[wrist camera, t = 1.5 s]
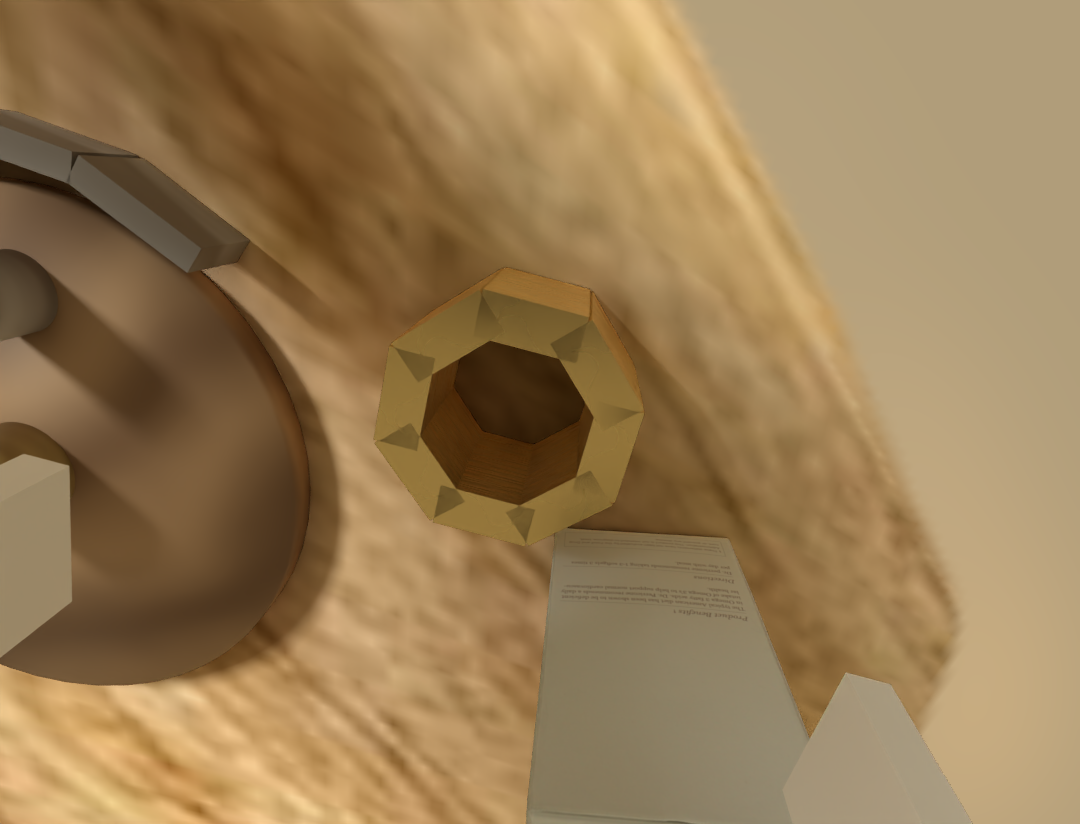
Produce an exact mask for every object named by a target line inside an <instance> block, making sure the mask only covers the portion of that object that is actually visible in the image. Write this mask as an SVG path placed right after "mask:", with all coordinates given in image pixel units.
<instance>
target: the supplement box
mask: <svg viewBox="0 0 1080 824" xmlns="http://www.w3.org/2000/svg"><path fill="white" fill-rule="evenodd" d="M809 739H810V738H809V736H808V733H807V731H806V728H805V725H804V723H803V720H802V718H801V715H800V713H799V710H798V708H797V705H796V703H795V700H794V698H793V695H792V693H791V690H790V688H789V685H788V683H787V680H786V678H785V675H784V673H783V670H782V668H781V665H780V663H779V660H778V657H777V655H776V652H775V650H774V647H773V645H772V643H771V640H770V638H769V635H768V633H767V630H766V628H765V625H764V622H763V620H762V617H761V615H760V612H759V610H758V608H757V605H756V602H755V600H754V597H753V595H752V592H751V590H750V587H749V585H748V583H747V580H746V578H745V576H744V574H743V572H742V569H741V567H740V564H739V562H738V559H737V557H736V555H735V552H734V550H733V547H732V545H731V542H730V540H729V539H728V538H718V537H701V536H685V535H668V534H651V533H635V532H618V531H602V530H585V529H570V528H565V529H563V530H561V531H559V532H557V533H555V540H554V549H553V557H552V568H551V578H550V589H549V599H548V609H547V618H546V627H545V637H544V646H543V656H542V666H541V676H540V686H539V695H538V704H537V714H536V723H535V732H534V742H533V752H532V761H531V771H530V781H529V789H528V798H527V814H526V824H793V823H792V820H791V817H790V814H789V810H788V807H787V804H786V800H785V797H784V794H783V791H782V789H783V788H784V786H785V784H786V782H787V780H788V778H789V776H790V775H791V773H792V771H793V769H794V767H795V765H796V763H797V762H798V760H799V758H800V756H801V754H802V752H803V750H804V749H805V747H806V745H807V743H808V741H809Z"/></svg>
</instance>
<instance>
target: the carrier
mask: <svg viewBox="0 0 1080 824" xmlns="http://www.w3.org/2000/svg"><path fill="white" fill-rule="evenodd" d="M0 159H1V160H4V161H6V162H9V163H12V164H15V165H18V166H21V167H23V168H26V169H29V170H32V171H35V172H37V173H40V174H43V175H46V176H49V177H51V178H54V179H57V180H60V181H63V182H65V183H68V184H69V185H71V186H72V187H73V188H75V189H76V190H77V191H79V192H80V193H81V194H83V195H84V196H85V197H87V198H88V199H87V198H84V197H81V196H78V195H75V194H72V193H69V192H66V191H63V190H60V189H57V188H54V187H51V186H48V185H43V184H38V183H33V182H27V181H22V180H17V179H12V178H0V465H1V464H3V463H5V462H7V461H9V460H12V459H14V458H16V457H18V456H20V455H22V454H26V455H30V456H34V457H38V458H42V459H45V460H49V461H53V462H57V463H60V464H64V465H68V466H69V474H70V523H71V572H72V602H71V603H69V604H68V605H67V606H65V607H64V608H63V609H62V610H60V611H59V612H58V613H57V614H55V615H54V616H53V617H51V618H50V619H49V620H48V621H46V622H45V623H44V624H43V625H41V626H40V627H39V628H37V629H36V630H35V631H34V632H32V633H31V634H30V635H29V636H27V637H26V638H25V639H23V640H22V641H21V642H20V643H18V644H17V645H16V646H14V647H13V648H12V649H11V650H9V651H8V652H7V653H6V654H4V655H3V656H2V657H0V664H2V665H4V666H7V667H10V668H13V669H16V670H19V671H23V672H26V673H29V674H32V675H36V676H39V677H44V678H49V679H54V680H59V681H64V682H69V683H79V684H88V685H133V684H141V683H149V682H155V681H159V680H163V679H167V678H171V677H175V676H179V675H182V674H184V673H187V672H189V671H191V670H194V669H196V668H199V667H201V666H204V665H206V664H207V663H209V662H211V661H212V660H214V659H216V658H217V657H219V656H221V655H222V654H224V653H226V652H227V651H228V650H230V649H231V648H232V647H233V646H234V645H235V644H237V643H238V642H239V641H240V640H241V639H243V638H244V637H245V636H246V635H247V634H248V633H249V632H250V631H251V629H252V628H253V627H254V626H255V625H256V623H257V622H258V621H259V620H260V619H261V618H262V616H263V615H264V614H265V613H266V611H267V610H268V609H269V607H270V606H271V605H272V603H273V602H274V601H275V600H276V598H277V597H278V596H279V594H280V593H281V591H282V590H283V588H284V586H285V584H286V583H287V581H288V579H289V578H290V576H291V574H292V573H293V571H294V568H295V566H296V563H297V560H298V558H299V555H300V553H301V550H302V547H303V543H304V539H305V534H306V529H307V525H308V520H309V504H310V480H309V468H308V458H307V453H306V449H305V444H304V440H303V435H302V431H301V427H300V423H299V421H298V418H297V415H296V412H295V409H294V407H293V404H292V401H291V398H290V396H289V393H288V391H287V389H286V387H285V385H284V383H283V381H282V379H281V377H280V375H279V373H278V371H277V369H276V367H275V365H274V363H273V361H272V359H271V357H270V356H269V354H268V353H267V351H266V350H265V348H264V347H263V345H262V343H261V342H260V340H259V339H258V337H257V336H256V334H255V333H254V331H253V330H252V328H251V327H250V325H249V324H248V323H247V322H246V320H245V319H244V318H243V317H242V316H241V314H240V313H239V312H238V311H237V309H236V308H235V307H234V306H233V305H232V303H231V302H230V301H229V300H228V299H227V297H226V296H225V295H224V294H223V293H222V292H221V291H220V290H219V289H218V288H217V287H216V286H215V285H214V284H213V283H212V282H211V281H210V280H209V279H208V278H207V277H206V276H205V275H204V274H203V273H202V272H201V271H200V270H203V269H208V268H213V267H217V266H222V265H226V264H231V263H235V262H237V261H238V259H239V258H240V256H241V254H242V253H243V251H244V249H245V248H246V246H247V244H248V243H249V241H250V240H248V239H247V238H246V237H245V236H243V235H242V234H241V233H239V232H238V231H237V230H236V229H234V228H233V227H232V226H230V225H229V224H228V223H227V222H225V221H224V220H223V219H221V218H220V217H219V216H218V215H216V214H215V213H214V212H212V211H211V210H210V209H208V208H207V207H206V206H205V205H203V204H202V203H201V202H199V201H198V200H197V199H196V198H194V197H193V196H192V195H190V194H189V193H188V192H187V191H185V190H184V189H183V188H181V187H180V186H179V185H177V184H176V183H175V182H174V181H172V180H171V179H170V178H168V177H167V176H166V175H165V174H163V173H162V172H161V171H159V170H158V169H157V168H156V167H154V166H153V165H152V164H150V163H149V162H148V161H147V160H145V159H141V158H138V155H136V154H133V153H130V152H127V151H124V150H122V149H119V148H116V147H113V146H111V145H108V144H105V143H102V142H99V141H97V140H94V139H91V138H88V137H86V136H83V135H80V134H77V133H75V132H72V131H69V130H66V129H63V128H61V127H58V126H55V125H52V124H50V123H47V122H44V121H41V120H38V119H36V118H33V117H30V116H27V115H25V114H22V113H19V112H16V111H9V110H1V109H0Z"/></svg>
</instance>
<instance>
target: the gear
mask: <svg viewBox="0 0 1080 824" xmlns="http://www.w3.org/2000/svg"><path fill="white" fill-rule="evenodd" d="M489 341H493V342H497V343H501V344H505V345H508V346H512V347H516V348H520V349H524V350H527V351H531V352H535V353H539V354H542V355H546V356H550V357H554V358H558V359H559V360H560V361H561V363H562V365H563V366H564V368H565V370H566V371H567V373H568V375H569V376H570V378H571V380H572V381H573V383H574V385H575V386H576V388H577V390H578V391H579V393H580V395H581V396H582V398H583V400H584V401H585V404H584V407H583V410H582V414H581V417H580V420H579V421H578V422H576V423H574V424H572V425H570V426H568V427H566V428H564V429H562V430H560V431H559V432H557V433H555V434H553V435H551V436H549V437H547V438H545V439H543V440H541V441H539V442H538V443H536V444H530V443H526V442H522V441H518V440H514V439H511V438H507V437H503V436H499V435H495V434H492V433H488V432H484V431H482V429H481V428H480V426H479V425H478V423H477V422H476V420H475V419H474V417H473V416H472V414H471V413H470V411H469V410H468V408H467V407H466V405H465V404H464V402H463V401H462V399H461V398H460V396H459V395H458V393H457V391H456V390H455V388H454V384H455V379H456V374H457V370H458V365H459V360H460V358H461V357H463V356H465V355H466V354H468V353H470V352H471V351H473V350H475V349H477V348H478V347H480V346H482V345H483V344H485V343H487V342H489ZM644 414H645V413H644V407H643V402H642V398H641V393H640V389H639V384H638V380H637V375H636V371H635V366H634V363H633V361H632V360H631V358H630V356H629V354H628V353H627V351H626V349H625V347H624V345H623V344H622V342H621V340H620V338H619V337H618V335H617V333H616V331H615V330H614V328H613V326H612V324H611V323H610V321H609V319H608V317H607V315H606V314H605V312H604V310H603V308H602V307H601V305H600V303H599V301H598V300H597V298H596V296H595V294H594V292H591V293H590V289H587V288H583V287H580V286H576V285H572V284H568V283H564V282H561V281H557V280H553V279H549V278H546V277H542V276H538V275H534V274H531V273H527V272H523V271H519V270H515V269H512V268H508V267H506V268H505V269H504V268H501V269H500V270H498V271H497V272H495V273H493V274H492V275H490V276H488V277H487V278H485V279H484V280H482V281H480V282H479V283H477V284H475V285H474V286H472V287H470V288H469V289H467V290H466V291H464V292H462V293H461V294H459V295H457V296H456V297H454V298H453V299H451V300H449V301H448V302H446V303H444V304H443V305H441V306H440V307H438V308H436V309H435V310H433V311H432V312H430V313H429V314H428V315H426V316H425V317H424V318H423V319H421V320H420V321H419V322H418V323H416V324H415V325H414V326H412V327H411V328H410V329H409V330H407V331H406V332H405V333H404V334H402V335H401V336H400V337H398V338H397V339H396V340H395V341H393V342H392V344H391V345H390V346H389V350H388V356H387V362H386V368H385V374H384V380H383V386H382V392H381V398H380V404H379V410H378V416H377V422H376V428H375V434H374V440H376V442H375V445H376V446H377V448H378V449H379V450H380V452H381V453H382V454H383V456H384V457H385V459H386V460H387V461H388V463H389V464H390V466H391V467H392V468H393V470H394V471H395V473H396V474H397V475H398V477H399V478H400V480H401V481H402V482H403V484H404V485H405V486H406V488H407V489H408V491H409V492H410V493H411V495H412V496H413V498H414V499H415V500H416V502H417V503H418V505H419V506H420V507H421V509H422V510H423V512H424V513H425V514H426V516H427V517H428V518H429V520H431V519H433V518H434V519H433V522H434V523H437V524H441V525H445V526H449V527H453V528H457V529H460V530H464V531H468V532H472V533H476V534H480V535H483V536H487V537H491V538H495V539H499V540H503V541H506V542H510V543H514V544H518V545H522V546H525V544H526V543H527V545H528V546H530V545H532V544H534V543H536V542H538V541H540V540H542V539H544V538H546V537H548V536H550V535H552V534H555V533H557V532H559V531H561V530H563V529H565V528H567V527H569V526H571V525H573V524H575V523H577V522H580V521H582V520H584V519H586V518H588V517H590V516H592V515H594V514H596V513H598V512H600V511H602V510H604V509H607V508H609V507H611V506H612V502H613V503H615V501H616V498H617V495H618V492H619V489H620V486H621V483H622V480H623V477H624V474H625V471H626V468H627V465H628V462H629V459H630V456H631V453H632V450H633V447H634V444H635V441H636V438H637V435H638V432H639V429H640V426H641V423H642V420H643V417H644Z"/></svg>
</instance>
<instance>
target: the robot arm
mask: <svg viewBox="0 0 1080 824" xmlns="http://www.w3.org/2000/svg"><path fill="white" fill-rule="evenodd" d="M71 602H72V572H71V523H70V474H69V466H68V465H64V464H60V463H57V462H53V461H49V460H45V459H42V458H38V457H34V456H30V455H26V454H22V455H20V456H18V457H16V458H14V459H12V460H9V461H7V462H5V463H3V464H1V465H0V657H2V656H3V655H4V654H6V653H7V652H8V651H9V650H11V649H12V648H13V647H14V646H16V645H17V644H18V643H20V642H21V641H22V640H23V639H25V638H26V637H27V636H29V635H30V634H31V633H32V632H34V631H35V630H36V629H37V628H39V627H40V626H41V625H43V624H44V623H45V622H46V621H48V620H49V619H50V618H51V617H53V616H54V615H55V614H57V613H58V612H59V611H60V610H62V609H63V608H64V607H65V606H67V605H68V604H69V603H71ZM782 791H783V794H784V797H785V800H786V804H787V807H788V810H789V814H790V817H791V820H792V823H793V824H973V823H972V821H971V820H970V818H969V816H968V815H967V813H966V811H965V809H964V808H963V806H962V804H961V803H960V801H959V799H958V798H957V796H956V794H955V793H954V791H953V789H952V787H951V786H950V784H949V783H948V781H947V779H946V777H945V775H944V774H943V772H942V770H941V769H940V767H939V765H938V764H937V762H936V760H935V759H934V757H933V755H932V753H931V752H930V750H929V748H928V747H927V745H926V743H925V742H924V740H923V738H922V736H921V735H920V733H919V731H918V730H917V728H916V726H915V725H914V723H913V721H912V719H911V718H910V716H909V714H908V713H907V711H906V709H905V708H904V706H903V704H902V702H901V701H900V699H899V697H898V696H897V694H896V692H895V691H894V689H893V687H892V685H891V684H888V683H884V682H880V681H877V680H873V679H869V678H865V677H862V676H858V675H854V674H850V673H846V672H845V674H844V676H843V678H842V680H841V682H840V684H839V685H838V687H837V689H836V691H835V693H834V695H833V697H832V698H831V700H830V702H829V704H828V706H827V708H826V710H825V711H824V713H823V715H822V717H821V719H820V721H819V723H818V724H817V726H816V728H815V730H814V732H813V734H812V736H811V737H810V739H809V741H808V743H807V745H806V747H805V749H804V750H803V752H802V754H801V756H800V758H799V760H798V762H797V763H796V765H795V767H794V769H793V771H792V773H791V775H790V776H789V778H788V780H787V782H786V784H785V786H784V788H783V789H782Z"/></svg>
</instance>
